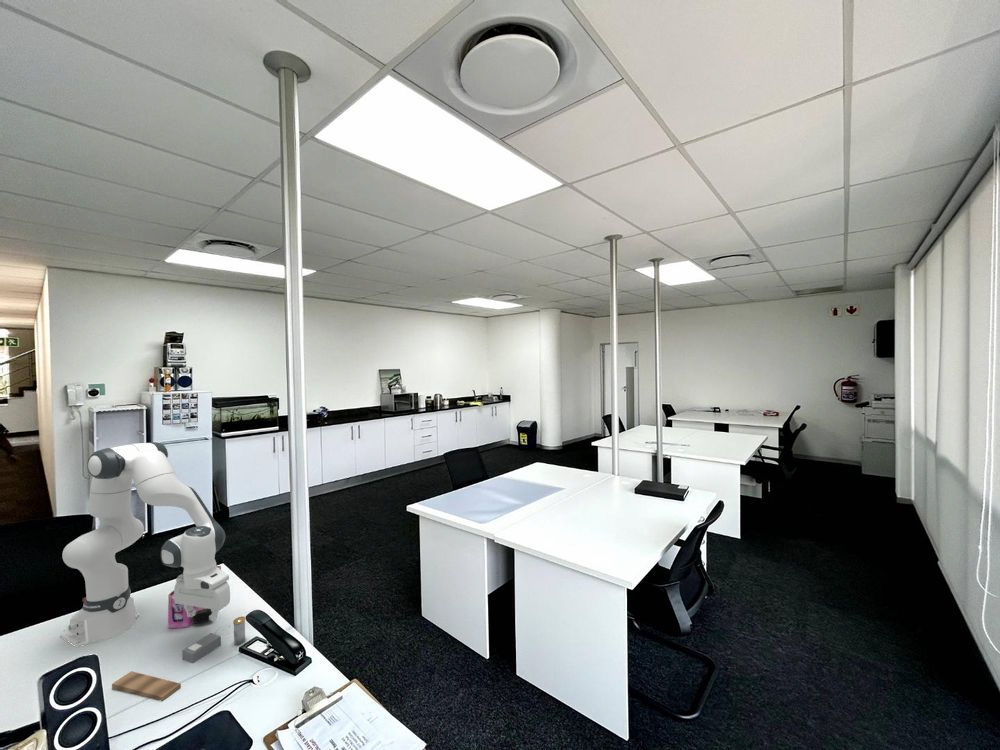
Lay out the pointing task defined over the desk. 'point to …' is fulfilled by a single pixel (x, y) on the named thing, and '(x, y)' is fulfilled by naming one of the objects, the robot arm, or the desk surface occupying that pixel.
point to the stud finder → (201, 648)
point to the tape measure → (202, 615)
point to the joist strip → (146, 686)
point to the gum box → (179, 613)
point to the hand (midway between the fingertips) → (202, 617)
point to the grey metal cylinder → (239, 630)
